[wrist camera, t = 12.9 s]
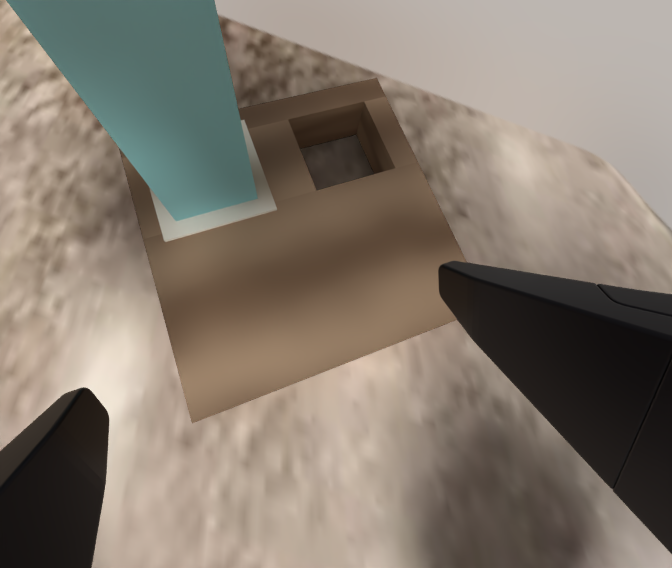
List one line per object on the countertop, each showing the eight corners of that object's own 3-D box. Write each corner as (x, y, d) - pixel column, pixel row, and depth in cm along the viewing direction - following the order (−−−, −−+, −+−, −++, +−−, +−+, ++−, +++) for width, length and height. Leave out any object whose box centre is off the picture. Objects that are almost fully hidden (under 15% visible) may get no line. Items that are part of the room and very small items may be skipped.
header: (463, 316, 22) (490, 306, 18) (208, 416, 18) (190, 423, 15) (367, 112, 25) (377, 75, 22) (139, 168, 22) (113, 133, 19)
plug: (258, 198, 19) (189, -116, 7) (175, 221, 18) (-66, -93, 6) (234, 133, 20) (137, -243, 8) (155, 151, 19) (-88, -238, 7)
